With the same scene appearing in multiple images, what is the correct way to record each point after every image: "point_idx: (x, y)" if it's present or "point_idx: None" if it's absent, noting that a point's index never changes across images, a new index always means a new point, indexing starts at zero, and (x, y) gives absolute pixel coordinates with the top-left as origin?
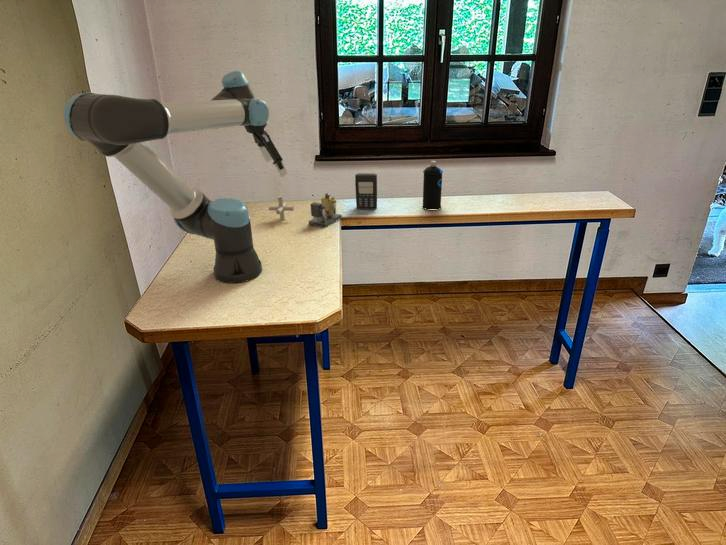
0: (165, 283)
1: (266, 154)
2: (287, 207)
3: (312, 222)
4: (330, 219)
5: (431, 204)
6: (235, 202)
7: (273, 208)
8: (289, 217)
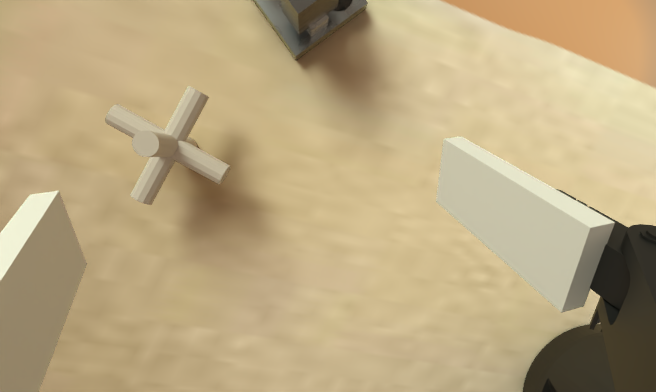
0: None
1: (46, 298)
2: (190, 118)
3: (312, 44)
4: None
5: None
6: None
7: (161, 183)
8: (169, 110)
